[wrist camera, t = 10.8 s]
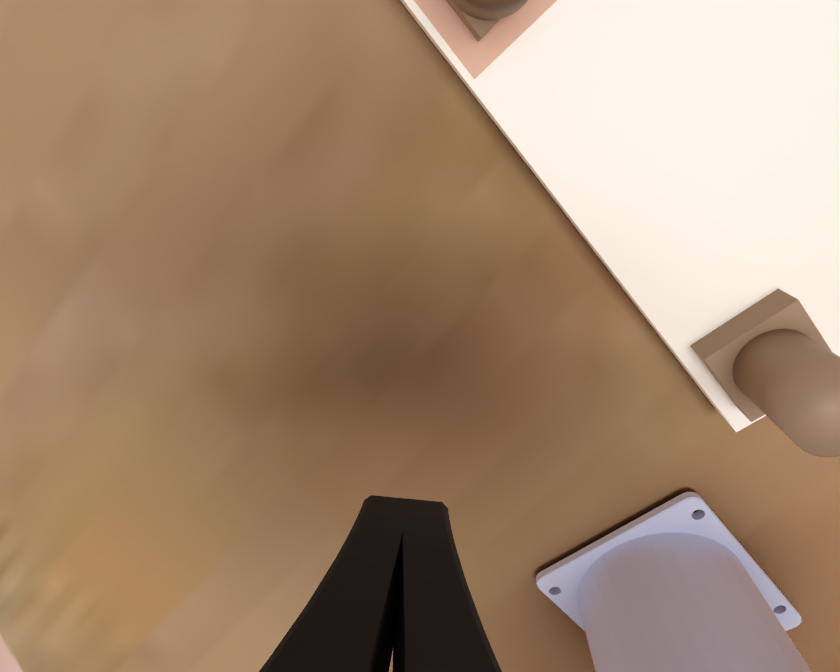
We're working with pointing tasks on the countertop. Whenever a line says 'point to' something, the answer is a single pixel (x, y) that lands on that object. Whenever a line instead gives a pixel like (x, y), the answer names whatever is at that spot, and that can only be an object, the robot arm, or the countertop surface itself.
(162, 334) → the countertop surface
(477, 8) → the hinged leg
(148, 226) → the countertop surface
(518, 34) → the white board with posts
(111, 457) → the countertop surface
